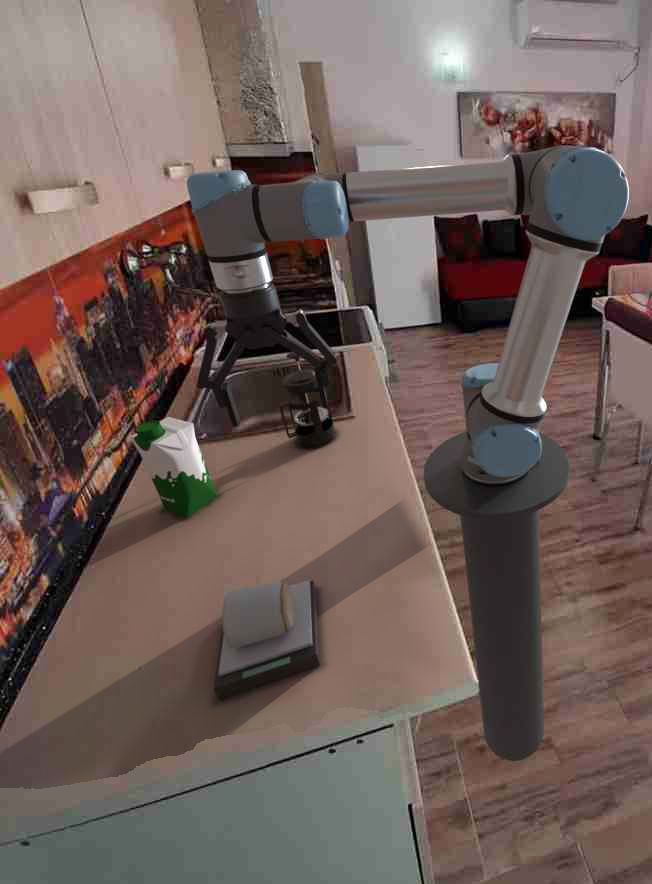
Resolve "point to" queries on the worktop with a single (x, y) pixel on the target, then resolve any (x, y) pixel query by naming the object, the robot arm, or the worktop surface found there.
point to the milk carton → (175, 464)
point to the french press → (306, 409)
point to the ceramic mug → (257, 613)
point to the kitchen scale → (273, 650)
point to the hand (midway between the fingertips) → (281, 413)
